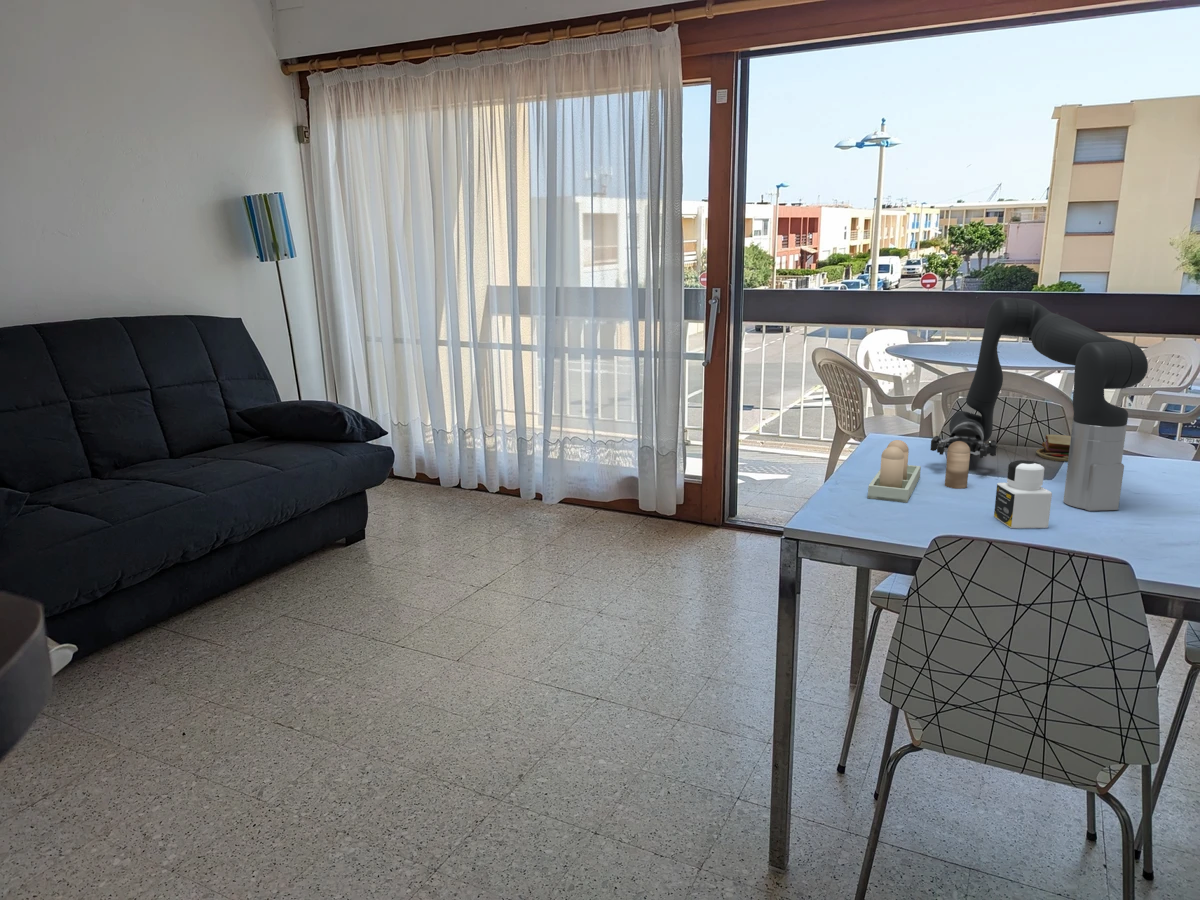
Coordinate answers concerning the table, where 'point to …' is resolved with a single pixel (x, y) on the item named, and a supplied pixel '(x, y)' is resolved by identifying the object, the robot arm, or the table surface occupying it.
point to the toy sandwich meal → (1055, 447)
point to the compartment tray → (894, 475)
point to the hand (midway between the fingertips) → (961, 452)
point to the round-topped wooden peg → (957, 465)
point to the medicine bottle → (1023, 497)
